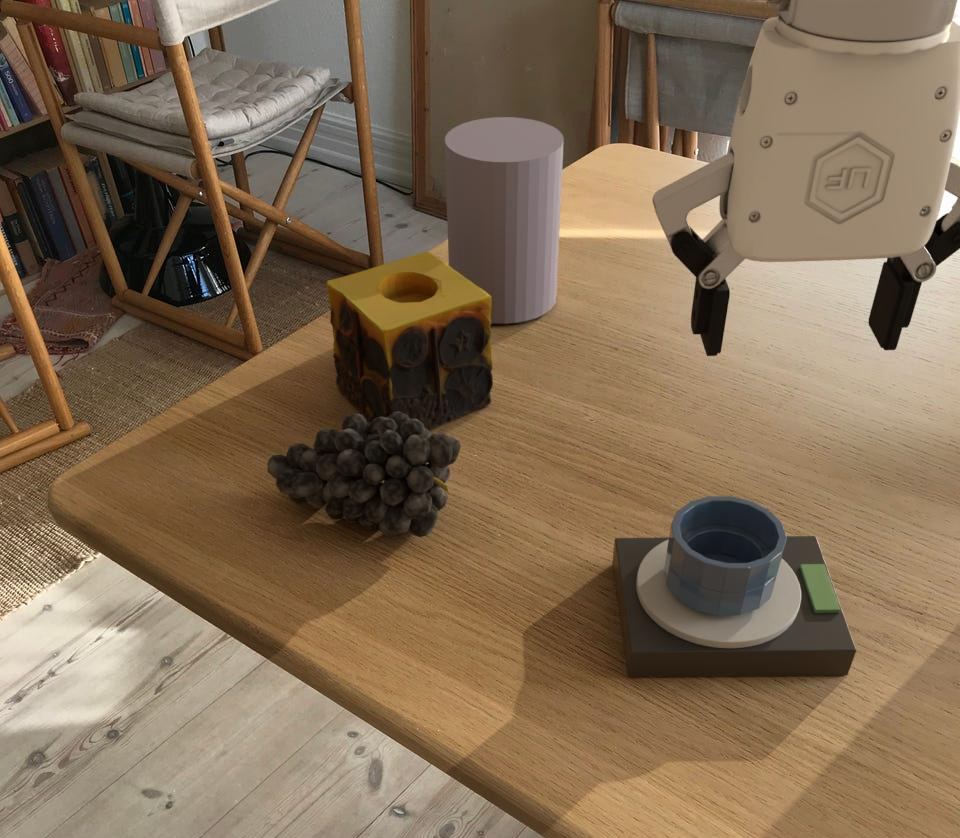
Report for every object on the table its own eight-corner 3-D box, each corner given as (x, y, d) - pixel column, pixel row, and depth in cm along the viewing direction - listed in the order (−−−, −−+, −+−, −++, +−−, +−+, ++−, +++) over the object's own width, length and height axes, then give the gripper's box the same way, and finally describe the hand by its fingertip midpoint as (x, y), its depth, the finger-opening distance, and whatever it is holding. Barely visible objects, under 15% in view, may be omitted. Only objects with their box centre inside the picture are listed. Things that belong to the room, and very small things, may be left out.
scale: (809, 561, 74) (818, 528, 72) (847, 676, 66) (859, 643, 64) (612, 563, 74) (615, 530, 72) (628, 678, 66) (632, 645, 64)
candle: (391, 446, 84) (382, 334, 77) (333, 389, 90) (319, 280, 83) (495, 406, 88) (496, 296, 81) (433, 355, 94) (428, 247, 87)
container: (501, 265, 106) (501, 108, 95) (578, 299, 101) (588, 137, 90) (427, 301, 101) (420, 139, 90) (505, 338, 96) (506, 172, 85)
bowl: (760, 548, 70) (773, 495, 67) (782, 620, 65) (797, 567, 62) (657, 549, 70) (665, 496, 67) (671, 622, 65) (680, 568, 62)
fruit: (237, 405, 72) (440, 440, 68) (293, 380, 79) (480, 410, 75) (241, 522, 76) (433, 561, 72) (294, 489, 83) (472, 522, 79)
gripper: (685, 26, 43) (649, 382, 56) (1101, 11, 43) (972, 372, 56) (661, -24, 49) (633, 312, 61) (1032, -38, 48) (928, 302, 61)
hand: (794, 340), depth 58 cm, fingers open, 9 cm apart
